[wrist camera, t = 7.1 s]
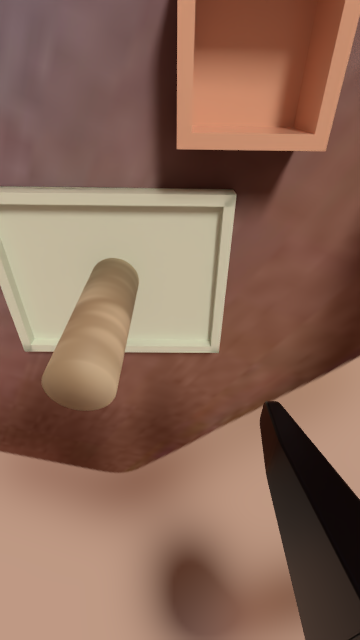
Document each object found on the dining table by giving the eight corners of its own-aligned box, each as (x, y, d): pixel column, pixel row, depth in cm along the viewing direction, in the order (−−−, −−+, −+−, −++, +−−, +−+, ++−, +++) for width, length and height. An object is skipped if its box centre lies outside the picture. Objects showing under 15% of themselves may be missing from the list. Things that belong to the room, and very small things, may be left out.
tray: (233, 189, 17) (236, 195, 16) (217, 342, 24) (218, 352, 23) (-23, 186, 17) (-35, 191, 16) (30, 340, 24) (24, 351, 23)
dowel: (137, 258, 19) (112, 361, 12) (140, 299, 21) (120, 411, 14) (88, 257, 19) (32, 360, 12) (95, 299, 21) (51, 410, 14)
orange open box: (336, -42, 12) (383, -80, 10) (299, 140, 16) (325, 151, 13) (178, -44, 12) (177, -84, 10) (177, 138, 16) (176, 149, 13)
